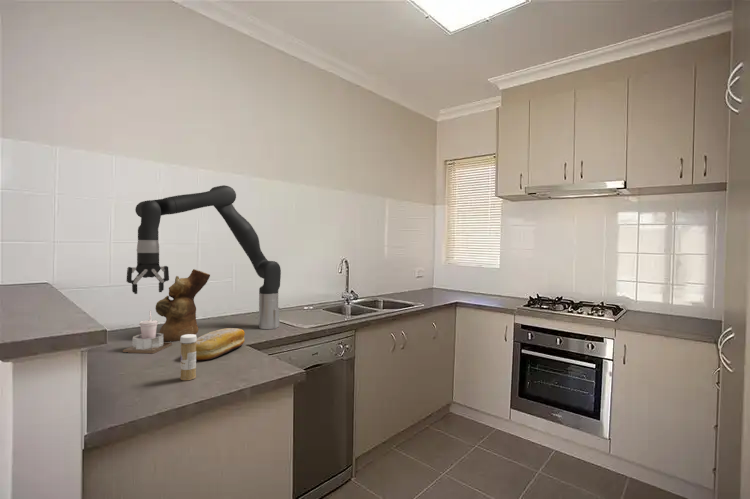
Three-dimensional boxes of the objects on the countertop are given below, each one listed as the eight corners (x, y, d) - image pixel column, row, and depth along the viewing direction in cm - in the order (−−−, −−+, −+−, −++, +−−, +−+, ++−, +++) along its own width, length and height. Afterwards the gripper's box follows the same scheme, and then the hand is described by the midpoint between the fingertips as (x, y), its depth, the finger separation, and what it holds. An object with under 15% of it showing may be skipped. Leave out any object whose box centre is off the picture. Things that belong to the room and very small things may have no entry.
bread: (250, 344, 162) (251, 325, 162) (212, 363, 136) (212, 341, 136) (221, 342, 164) (221, 323, 164) (178, 361, 138) (179, 338, 138)
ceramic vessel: (156, 335, 174) (156, 268, 174) (208, 330, 184) (209, 267, 184) (154, 343, 160) (154, 271, 160) (211, 338, 170) (211, 270, 170)
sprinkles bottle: (177, 378, 120) (177, 335, 120) (192, 374, 124) (192, 332, 123) (184, 382, 117) (184, 337, 117) (199, 378, 121) (199, 335, 120)
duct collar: (171, 345, 158) (171, 332, 158) (153, 353, 146) (153, 340, 146) (143, 344, 159) (143, 332, 159) (122, 352, 147) (122, 339, 147)
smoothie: (157, 347, 151) (157, 311, 151) (138, 349, 148) (138, 312, 148) (158, 343, 157) (158, 308, 157) (140, 344, 154) (140, 309, 154)
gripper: (128, 252, 144) (129, 295, 145) (170, 251, 154) (170, 292, 154) (125, 251, 150) (125, 293, 150) (165, 251, 159) (165, 290, 160)
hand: (148, 292), depth 152 cm, fingers open, 8 cm apart
